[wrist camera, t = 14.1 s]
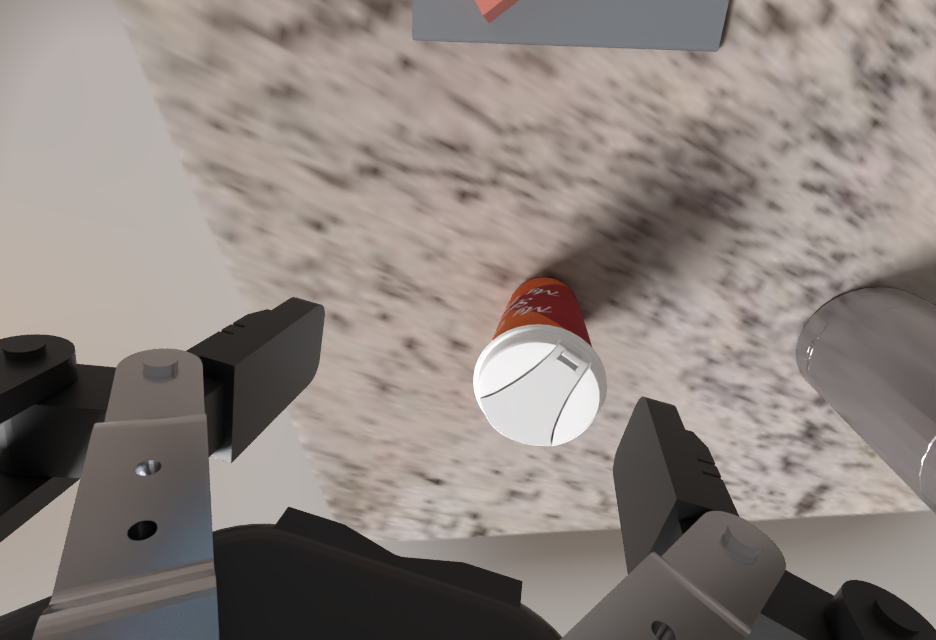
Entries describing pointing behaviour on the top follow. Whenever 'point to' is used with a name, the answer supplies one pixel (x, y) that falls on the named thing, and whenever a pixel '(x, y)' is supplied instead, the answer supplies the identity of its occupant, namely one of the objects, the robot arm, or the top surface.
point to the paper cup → (540, 368)
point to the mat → (578, 23)
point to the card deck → (494, 7)
